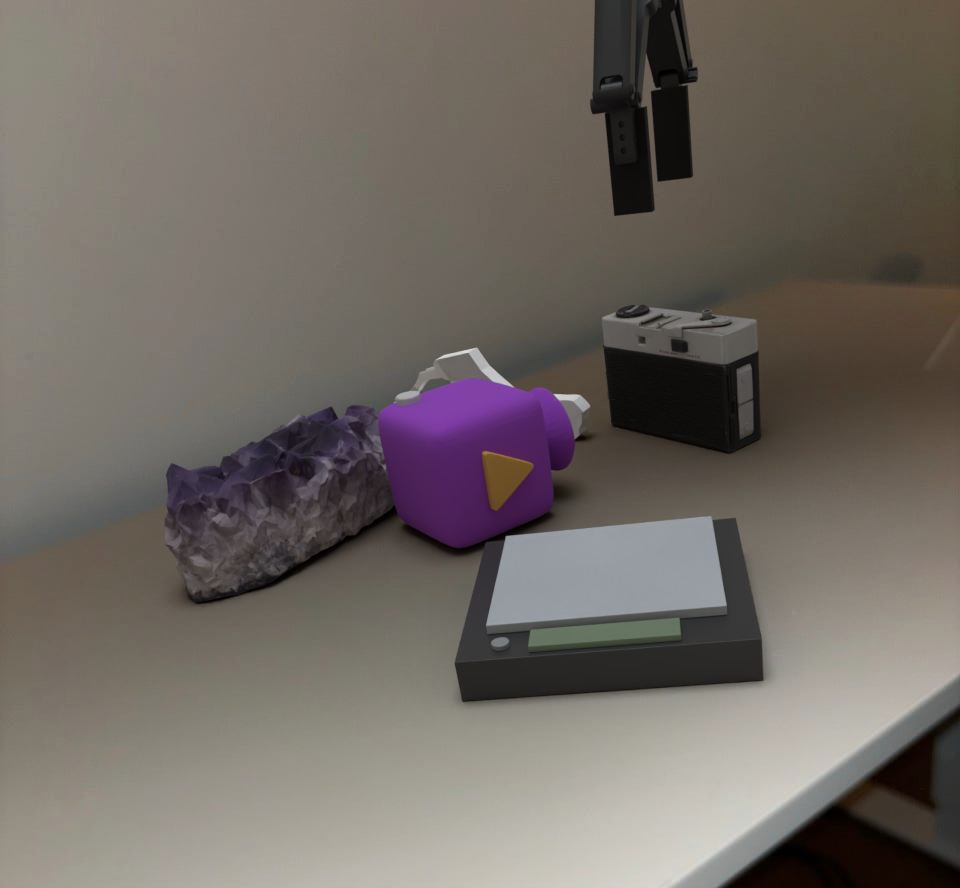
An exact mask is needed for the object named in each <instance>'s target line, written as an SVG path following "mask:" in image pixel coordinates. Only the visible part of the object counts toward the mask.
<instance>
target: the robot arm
mask: <svg viewBox="0 0 960 888" xmlns="http://www.w3.org/2000/svg"><path fill="white" fill-rule="evenodd" d="M593 20H594V23H593V66H592V67H593V69H592V70H593V71H592V93H591V97H592V98H589V108H590V112H591V113H592V115H601V114H604V122H605V132H606V143H607V154H608V163H609V164H608V165H609V175H610V185H611V197H612V207H613V216H614V217H618V216H627V215H636V214H646V213H653V212H654V211H655V210H656V208H655V205H656V204H655V193H654V179H653V168H652V167H653V165H652V154H651V152H652V151H651V142H650V140H651V139H650V128H649V115H648V113H649V112H648V106H647V105H646V106H642V102H643V91H644V80H645V68H646V58H647V60H648V65H649V70H650V73H651V77H652V83H653V85H654V88H655V89H652V90H651V91H650V101H651V112H652V113H651V115H652V126H653V127H652V128H653V141H654V154H655V167H656V181H657V183H660V182H661V183H662V182H669V181H675V180H685V179H692V178H693V177H694V169H693V152H692V151H693V148H692V135H691V116H690V100H689V85H688V84H692V83H698V81H699V68H698V66H694V59H693V58H692V52H691V45H690V39H689V32H688V25H687V18H686V11H685V5H684V0H594V19H593ZM693 66H694V67H693Z"/></svg>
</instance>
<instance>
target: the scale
mask: <svg viewBox="0 0 960 888" xmlns="http://www.w3.org/2000/svg"><path fill="white" fill-rule="evenodd" d="M737 521H738V520H737V518H736V517H728V518H719V519H718V518H717V519H713V516H712V515H709V516H698V517H689V518H688V517H685V518H676V519H666V520H665V519H664V520H655V521H646V522H645V521H644V522H635V523H627V524H626V523H625V524H615V525H607V526H604V525H603V526H595V527H586V528H584V527H583V528H575V529H564V530H554V531H544V532H535V533H534V532H533V533H524V534H513V535H506V536H505V539H502V540H494V541H493V540H492V541H486V542H485V544H484V548H483V551H482V554H481V555H482V556H481V559H480V563H479V567H478V571H477V575H476V579H475V582H474V586H473V590H472V594H471V598H470V601H469V604H468V605H469V606H468V609H467V612H466V616H465V619H464V625H463V628H462V632H461V636H460V640H459V643H458V648H457V650H456V651H457V652H456V655H455V658H454V659H455V660H454V667H455V672H456V678H457V683H458V688H459V692H460V697H461V701H462V702H466V701H467V702H468V701H481V700H494V699H495V700H496V699H507V698H522V697H523V698H524V697H537V696H551V695H552V696H553V695H566V694H579V693H580V694H582V693H593V692H594V693H595V692H596V693H597V692H607V691H621V690H623V691H624V690H636V689H647V688H648V689H652V688H653V689H654V688H663V687H664V688H665V687H679V686H681V687H682V686H693V685H708V684H709V685H710V684H721V683H723V684H724V683H737V682H750V681H762V680H764V657H763V655H764V654H763V637H762V632H761V627H760V624H759V623H760V622H759V618H758V614H757V609H756V604H755V600H754V596H753V591H752V587H751V582H750V577H749V573H748V568H747V563H746V559H745V554H744V549H743V544H742V541H741V540H742V539H741V535H740V530H739V526H738V522H737Z"/></svg>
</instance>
